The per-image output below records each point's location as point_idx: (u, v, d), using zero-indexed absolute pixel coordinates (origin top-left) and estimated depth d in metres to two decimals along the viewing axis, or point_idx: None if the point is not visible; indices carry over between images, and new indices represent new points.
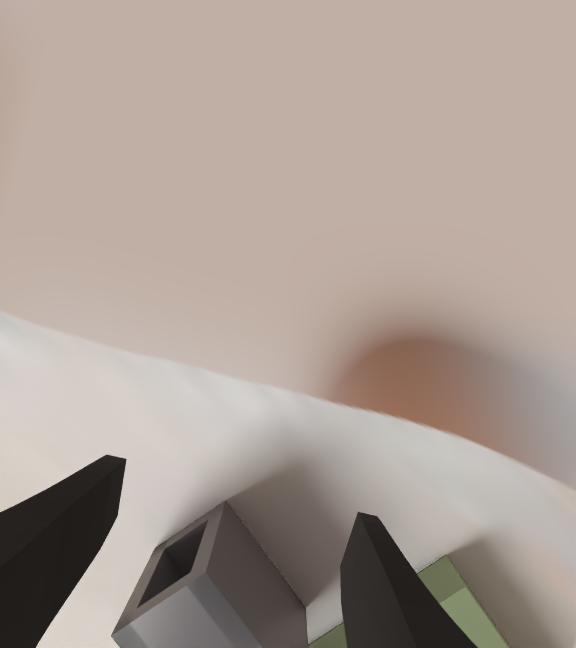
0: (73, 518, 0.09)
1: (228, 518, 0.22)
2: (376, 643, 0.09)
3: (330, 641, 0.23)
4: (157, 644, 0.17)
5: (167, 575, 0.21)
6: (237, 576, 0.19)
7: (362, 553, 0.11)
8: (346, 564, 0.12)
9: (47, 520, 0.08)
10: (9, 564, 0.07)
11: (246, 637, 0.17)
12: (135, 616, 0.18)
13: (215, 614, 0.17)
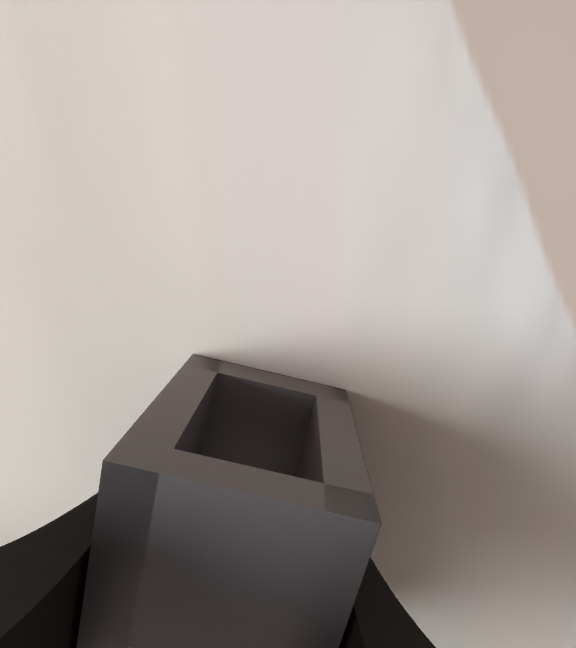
0: None
1: None
2: None
3: None
4: (168, 547, 0.07)
5: (203, 415, 0.11)
6: None
7: None
8: None
9: None
10: (66, 577, 0.07)
11: None
12: (174, 468, 0.07)
13: (315, 593, 0.08)
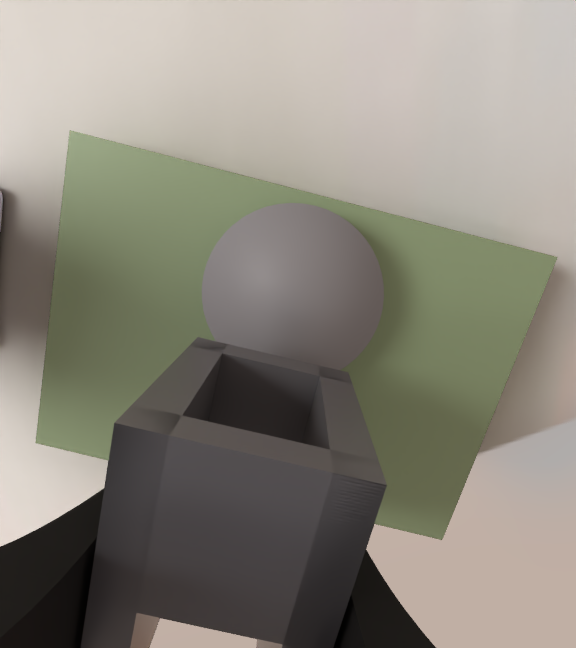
0: None
1: None
2: None
3: None
4: (177, 510, 0.08)
5: (208, 394, 0.11)
6: None
7: None
8: None
9: (95, 531, 0.08)
10: (66, 577, 0.07)
11: (323, 630, 0.08)
12: (184, 431, 0.07)
13: (321, 556, 0.08)
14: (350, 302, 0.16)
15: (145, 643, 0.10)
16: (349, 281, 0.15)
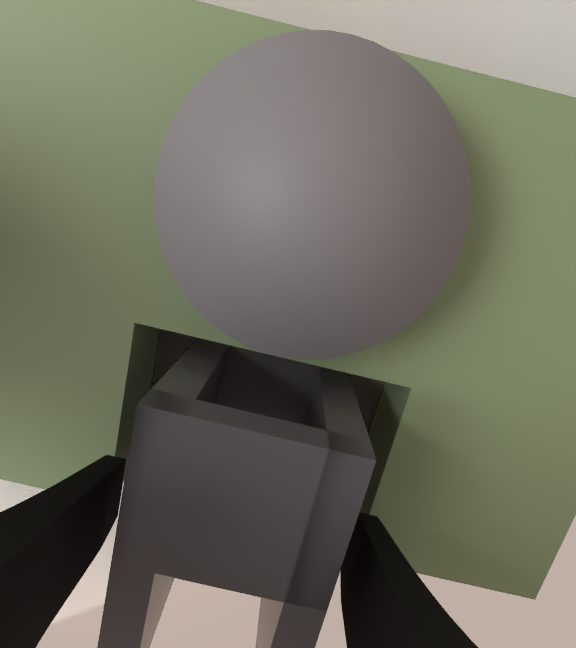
0: (73, 518, 0.09)
1: None
2: (376, 643, 0.09)
3: None
4: (192, 482, 0.09)
5: (216, 382, 0.12)
6: None
7: (362, 553, 0.11)
8: (346, 564, 0.12)
9: (47, 520, 0.08)
10: (9, 564, 0.07)
11: (320, 589, 0.09)
12: (198, 413, 0.08)
13: (318, 524, 0.09)
14: (411, 216, 0.09)
15: (159, 607, 0.11)
16: (410, 178, 0.09)
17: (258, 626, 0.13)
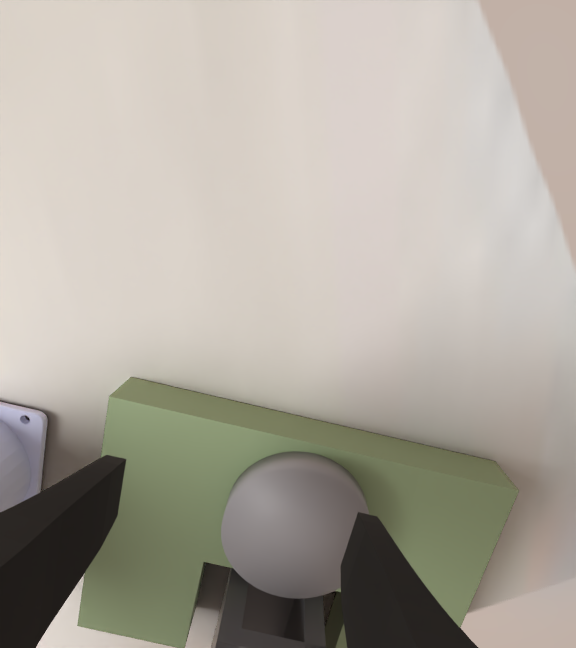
0: (73, 518, 0.09)
1: None
2: (376, 643, 0.09)
3: (349, 433, 0.21)
4: None
5: None
6: None
7: (362, 553, 0.11)
8: (346, 564, 0.12)
9: (47, 520, 0.08)
10: (9, 564, 0.07)
11: None
12: (244, 641, 0.18)
13: None
14: (345, 540, 0.19)
15: None
16: (343, 525, 0.18)
17: None
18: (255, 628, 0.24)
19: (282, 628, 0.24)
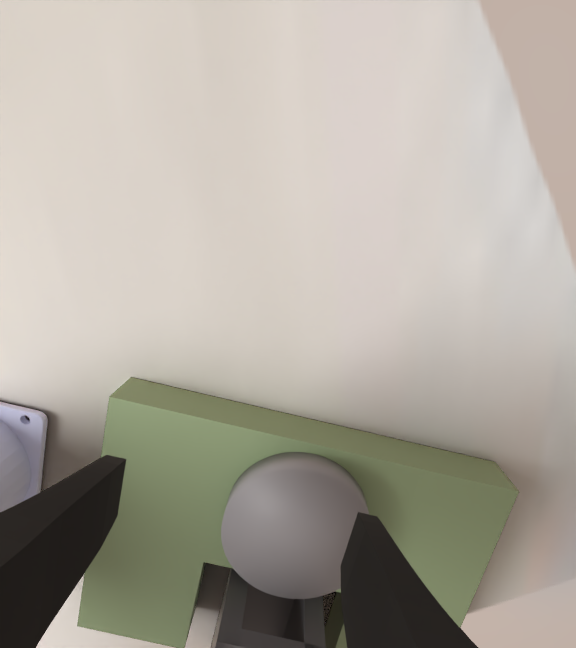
0: (73, 518, 0.09)
1: None
2: (376, 643, 0.09)
3: (349, 433, 0.21)
4: None
5: None
6: None
7: (362, 553, 0.11)
8: (346, 564, 0.12)
9: (47, 520, 0.08)
10: (9, 564, 0.07)
11: None
12: (244, 641, 0.18)
13: None
14: (345, 541, 0.19)
15: None
16: (343, 526, 0.18)
17: None
18: (255, 628, 0.24)
19: (282, 628, 0.24)
